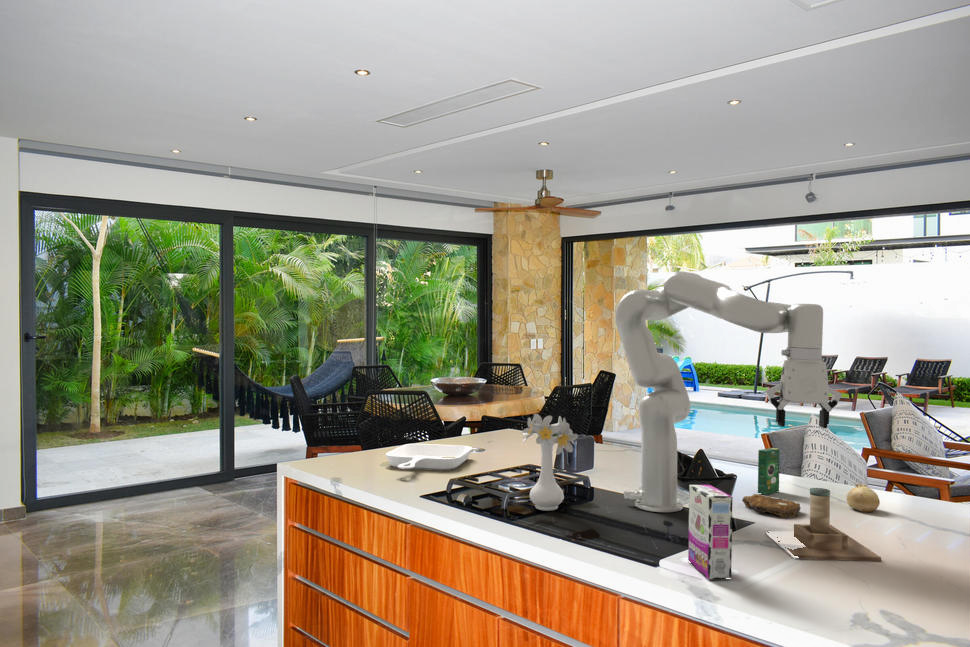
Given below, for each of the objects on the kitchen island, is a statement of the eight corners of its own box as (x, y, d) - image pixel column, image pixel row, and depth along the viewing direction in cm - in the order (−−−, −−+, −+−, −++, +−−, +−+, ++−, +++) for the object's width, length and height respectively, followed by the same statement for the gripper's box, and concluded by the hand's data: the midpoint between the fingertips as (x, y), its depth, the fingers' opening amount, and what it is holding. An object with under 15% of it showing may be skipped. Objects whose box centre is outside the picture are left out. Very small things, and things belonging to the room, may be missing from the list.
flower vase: (554, 519, 179) (555, 421, 179) (509, 504, 193) (509, 414, 193) (590, 511, 186) (591, 417, 186) (544, 498, 201) (545, 410, 201)
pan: (475, 458, 262) (475, 446, 262) (443, 483, 221) (443, 468, 221) (407, 454, 268) (407, 442, 268) (363, 478, 227) (363, 463, 227)
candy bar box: (733, 580, 137) (734, 496, 137) (708, 581, 136) (709, 496, 136) (710, 561, 148) (710, 483, 148) (687, 561, 147) (687, 483, 147)
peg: (814, 545, 156) (814, 491, 156) (806, 540, 160) (807, 487, 160) (832, 546, 156) (833, 492, 156) (825, 540, 160) (825, 488, 160)
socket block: (793, 558, 150) (794, 540, 150) (765, 533, 168) (765, 517, 168) (881, 561, 149) (881, 543, 149) (843, 535, 167) (843, 519, 167)
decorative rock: (734, 513, 189) (792, 525, 180) (734, 498, 189) (793, 509, 179) (747, 502, 198) (804, 513, 189) (748, 488, 198) (804, 498, 188)
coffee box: (770, 489, 213) (771, 446, 213) (780, 491, 211) (780, 448, 211) (756, 493, 208) (757, 449, 208) (766, 495, 206) (766, 451, 206)
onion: (883, 510, 191) (883, 484, 191) (875, 516, 185) (875, 489, 185) (851, 505, 196) (851, 479, 196) (842, 510, 190) (842, 484, 190)
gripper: (771, 355, 165) (769, 427, 165) (848, 357, 163) (846, 430, 164) (762, 353, 172) (760, 422, 173) (835, 355, 171) (833, 425, 171)
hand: (802, 426), depth 168 cm, fingers open, 9 cm apart
